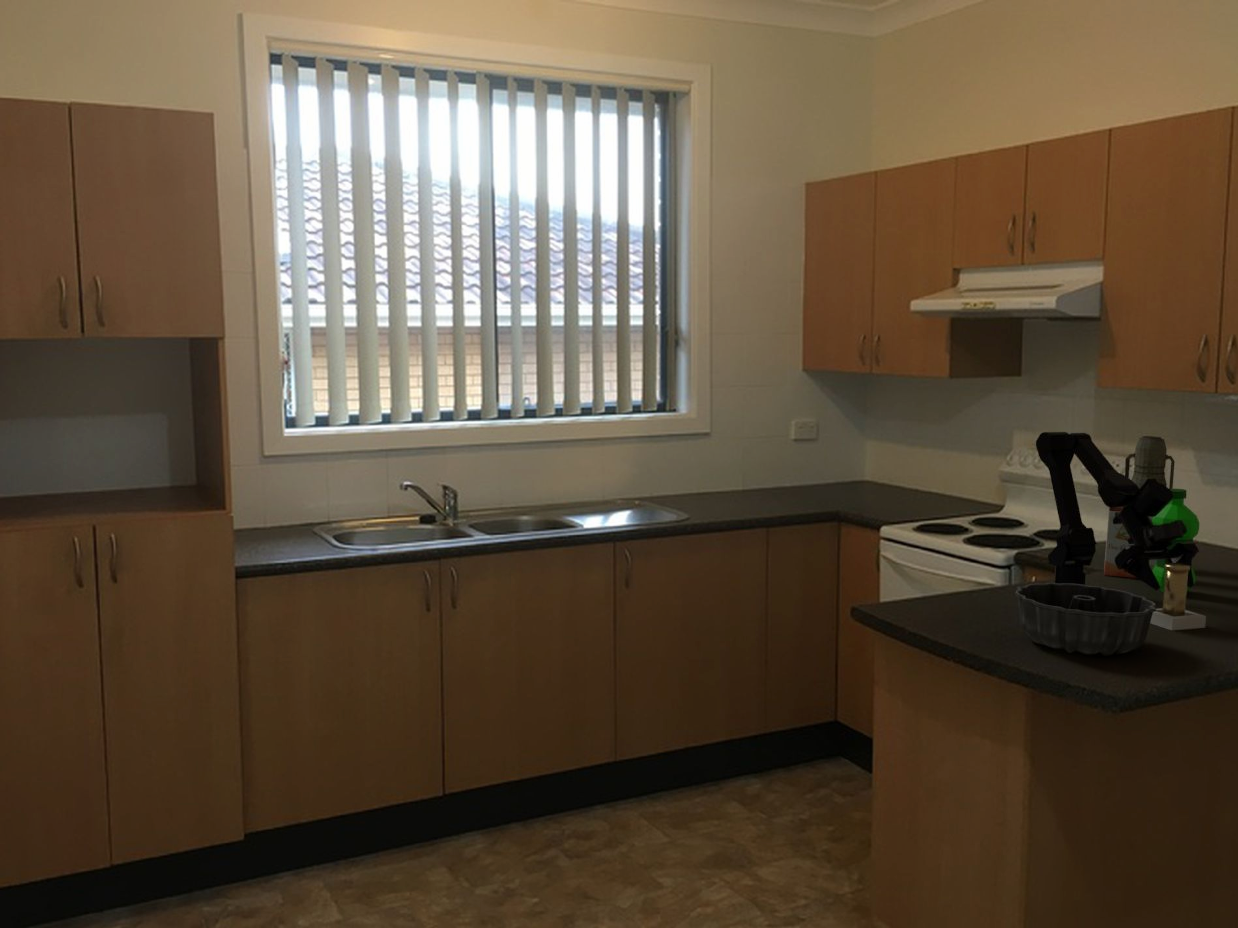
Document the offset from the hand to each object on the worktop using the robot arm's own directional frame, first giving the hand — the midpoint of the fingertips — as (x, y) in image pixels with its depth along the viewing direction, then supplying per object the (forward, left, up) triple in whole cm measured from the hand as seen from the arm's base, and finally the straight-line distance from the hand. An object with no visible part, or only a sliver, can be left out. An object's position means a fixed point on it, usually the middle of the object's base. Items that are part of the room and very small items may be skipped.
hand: (1175, 587), depth 256 cm
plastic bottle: (+3, +34, -8) cm, 35 cm away
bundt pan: (-19, -26, -8) cm, 33 cm away
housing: (0, 0, -8) cm, 8 cm away
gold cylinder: (0, 0, -8) cm, 8 cm away
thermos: (-2, +64, -8) cm, 65 cm away
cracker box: (-5, +50, -8) cm, 51 cm away
